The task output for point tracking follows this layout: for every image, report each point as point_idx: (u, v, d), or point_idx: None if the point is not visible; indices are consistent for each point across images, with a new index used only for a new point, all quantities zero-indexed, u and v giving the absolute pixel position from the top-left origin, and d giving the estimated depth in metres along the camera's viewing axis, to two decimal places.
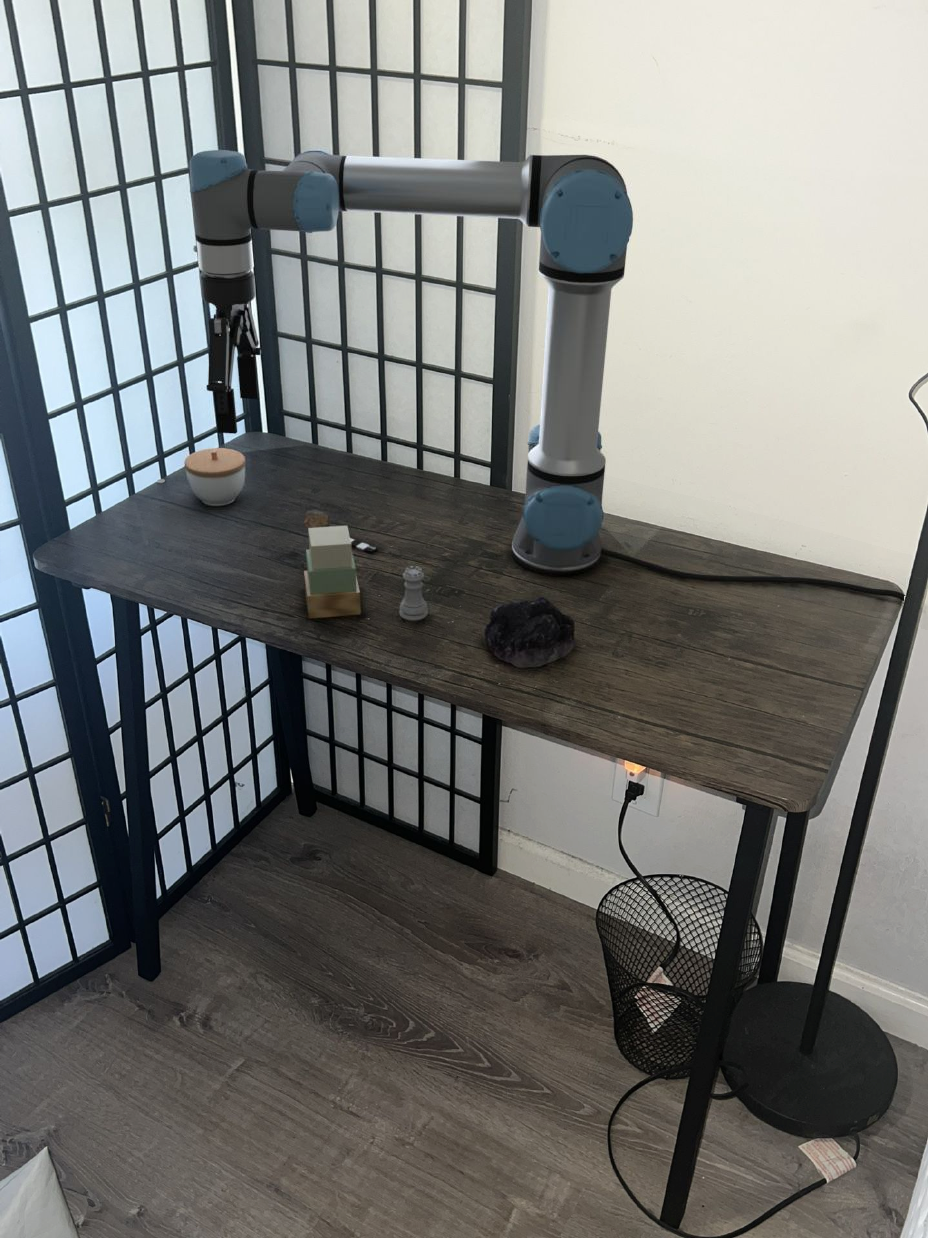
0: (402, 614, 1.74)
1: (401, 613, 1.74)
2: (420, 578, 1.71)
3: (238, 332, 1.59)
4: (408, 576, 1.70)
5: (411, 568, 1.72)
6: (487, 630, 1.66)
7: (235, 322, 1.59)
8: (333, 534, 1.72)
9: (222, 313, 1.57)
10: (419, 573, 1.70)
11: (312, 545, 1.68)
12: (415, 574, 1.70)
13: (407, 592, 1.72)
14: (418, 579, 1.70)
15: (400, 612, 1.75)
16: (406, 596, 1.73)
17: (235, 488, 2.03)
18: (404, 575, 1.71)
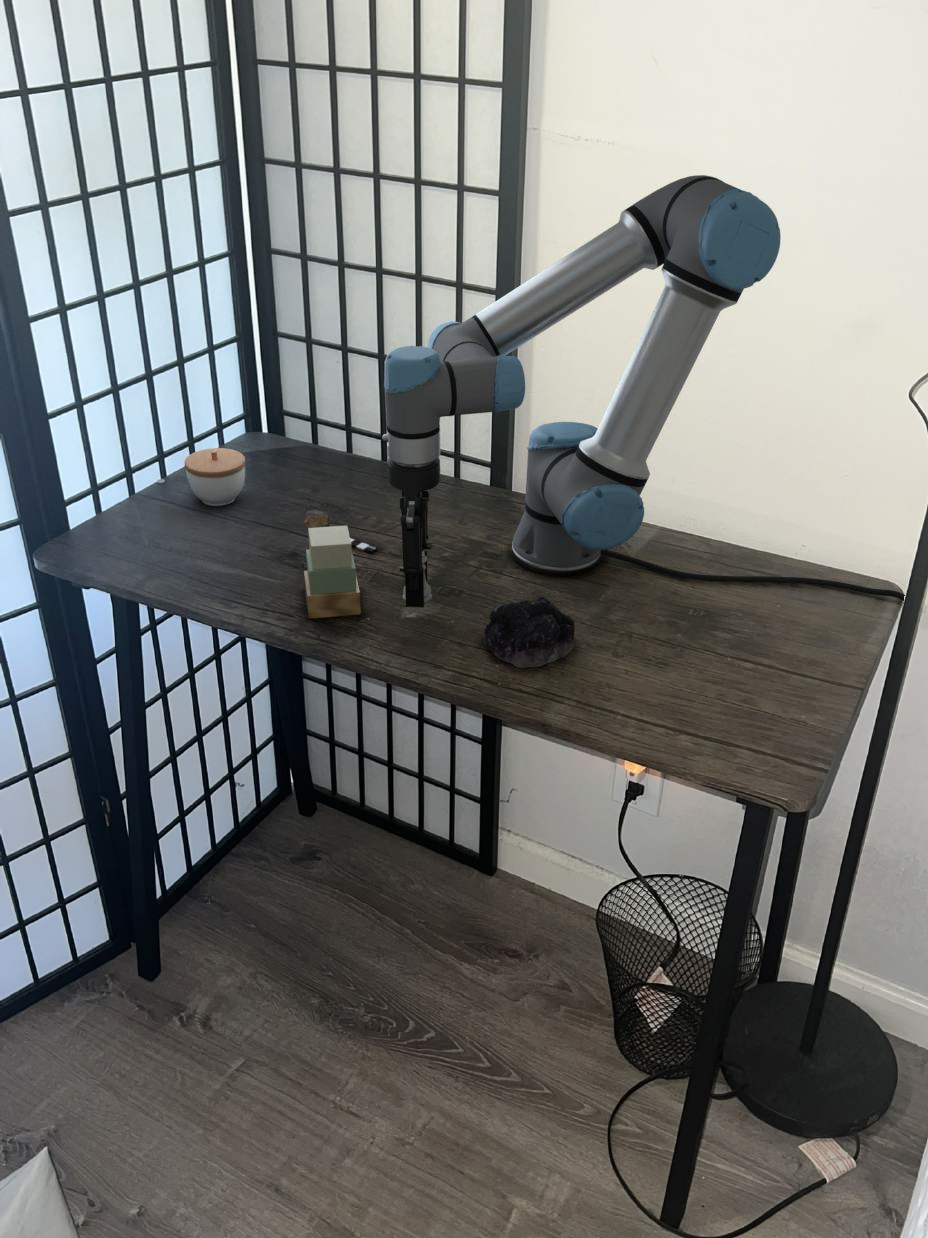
0: None
1: (405, 597, 1.73)
2: (423, 561, 1.69)
3: (425, 515, 1.64)
4: None
5: None
6: (487, 630, 1.66)
7: (421, 507, 1.63)
8: (333, 534, 1.72)
9: (411, 499, 1.61)
10: (422, 556, 1.69)
11: (312, 545, 1.68)
12: None
13: None
14: None
15: (404, 596, 1.73)
16: None
17: (235, 488, 2.03)
18: None
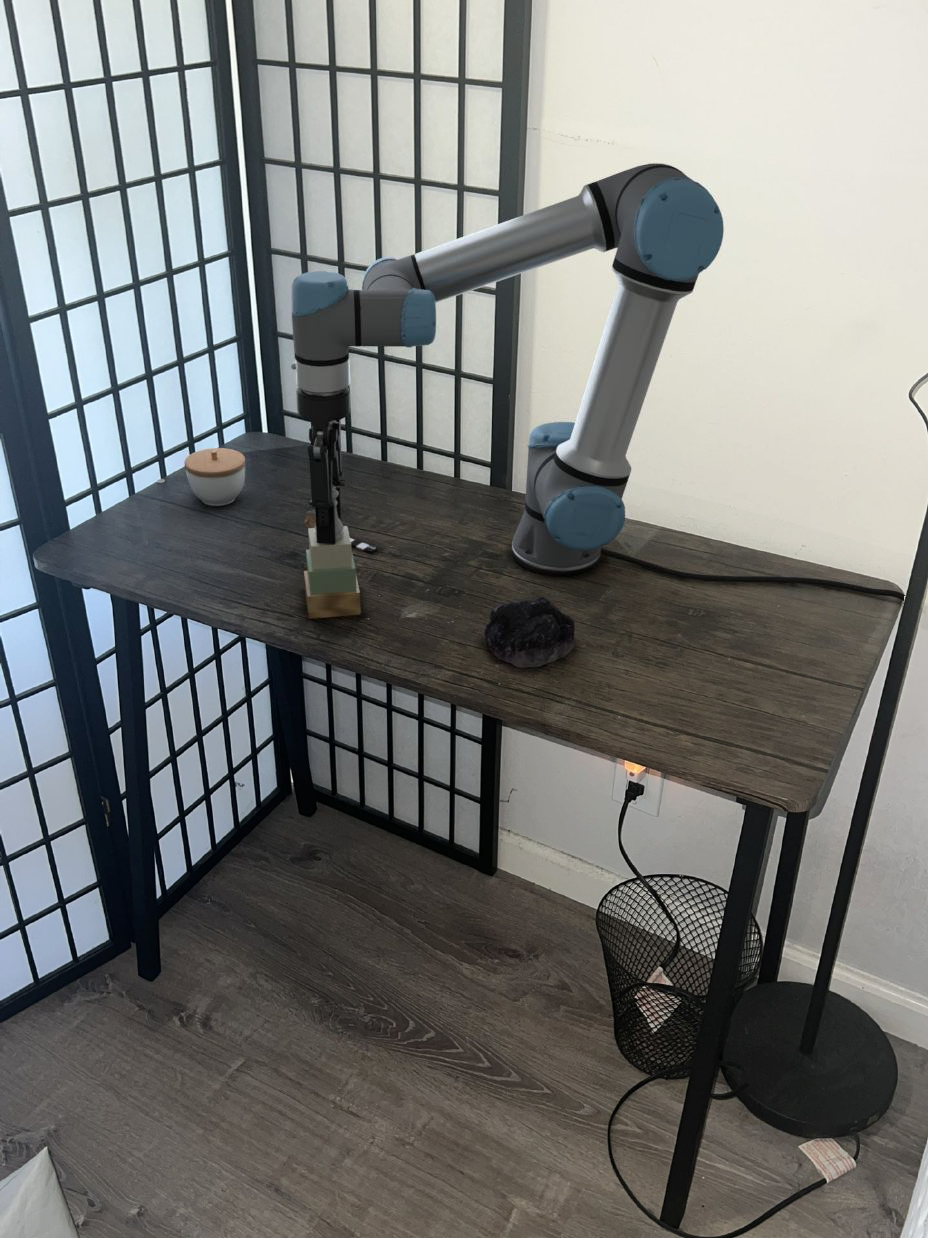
0: None
1: (316, 533, 1.70)
2: (334, 496, 1.66)
3: (334, 447, 1.61)
4: None
5: None
6: (487, 630, 1.66)
7: (331, 438, 1.61)
8: None
9: (319, 429, 1.58)
10: (333, 491, 1.66)
11: (312, 545, 1.68)
12: None
13: None
14: (332, 497, 1.66)
15: (315, 533, 1.70)
16: None
17: (235, 488, 2.03)
18: None
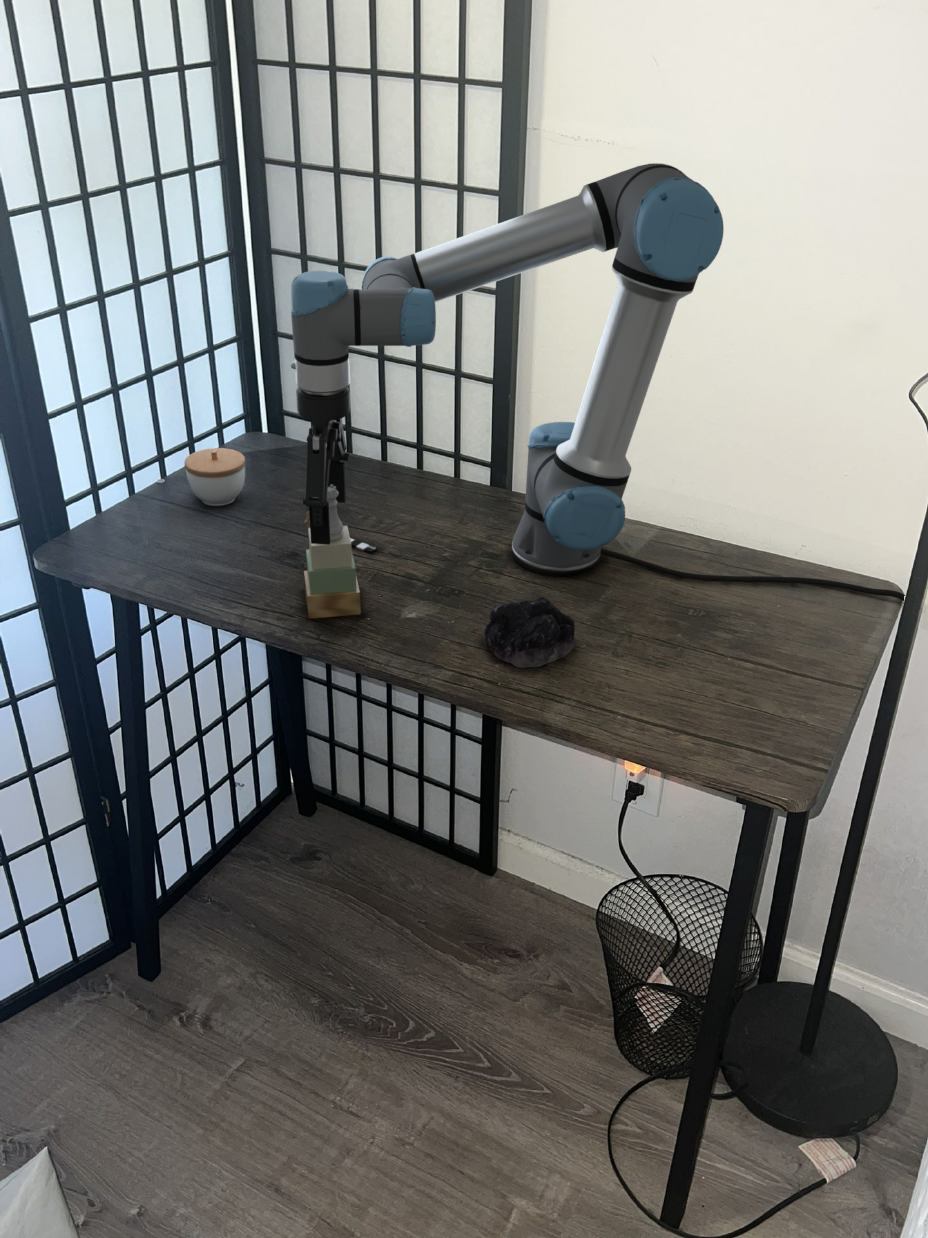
0: None
1: None
2: (334, 496, 1.66)
3: (333, 446, 1.60)
4: None
5: None
6: (487, 630, 1.66)
7: (330, 436, 1.60)
8: None
9: (319, 429, 1.58)
10: (333, 490, 1.66)
11: (312, 545, 1.68)
12: (328, 491, 1.66)
13: None
14: (332, 497, 1.66)
15: None
16: None
17: (235, 488, 2.03)
18: None
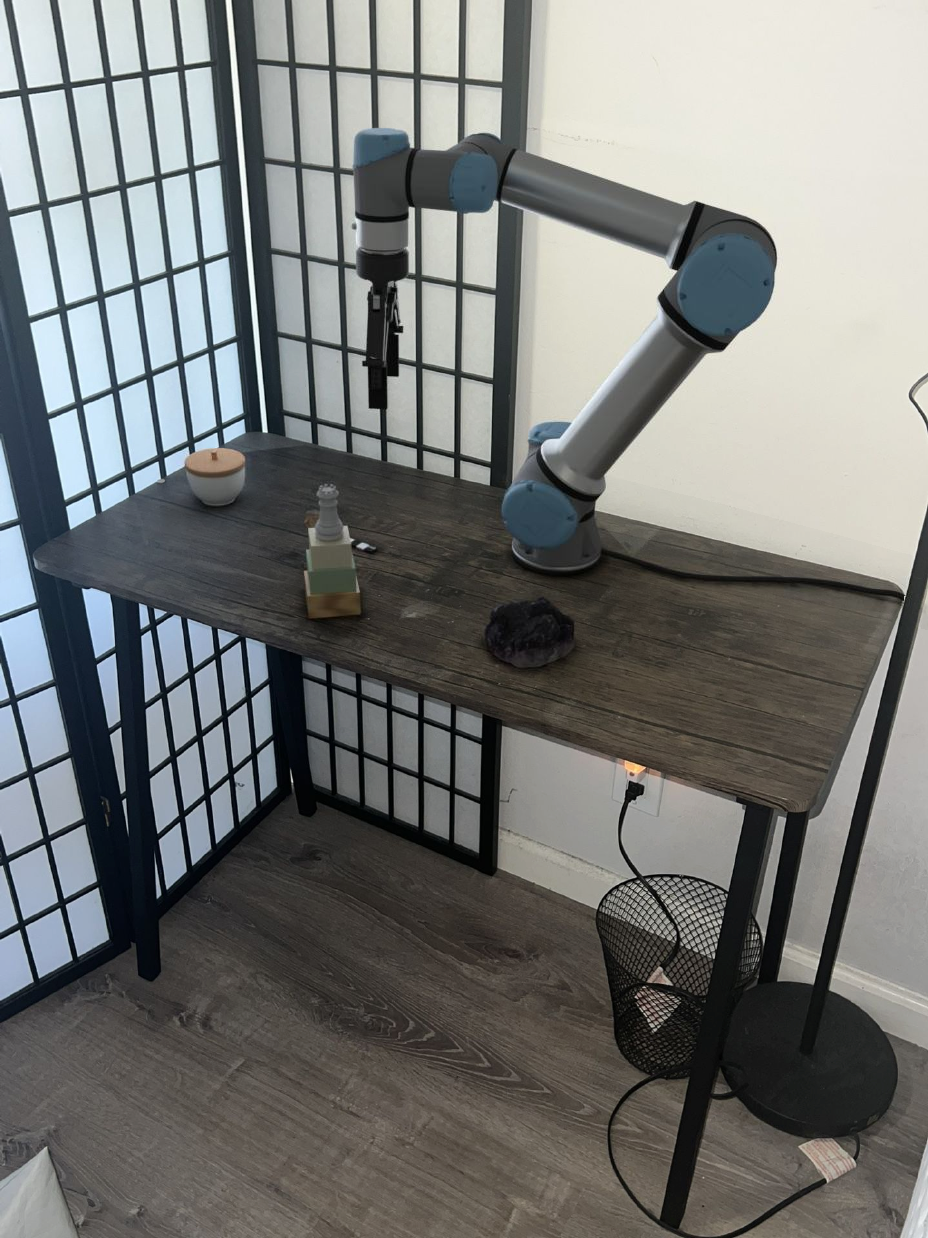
0: (317, 534, 1.70)
1: (316, 533, 1.70)
2: (334, 496, 1.66)
3: (392, 309, 1.61)
4: (321, 493, 1.66)
5: (325, 486, 1.68)
6: (487, 630, 1.66)
7: (389, 299, 1.61)
8: None
9: (378, 289, 1.59)
10: (333, 490, 1.66)
11: (312, 545, 1.68)
12: (328, 491, 1.66)
13: (321, 511, 1.68)
14: (332, 497, 1.66)
15: (315, 532, 1.70)
16: (321, 515, 1.68)
17: (235, 488, 2.03)
18: (318, 493, 1.67)
